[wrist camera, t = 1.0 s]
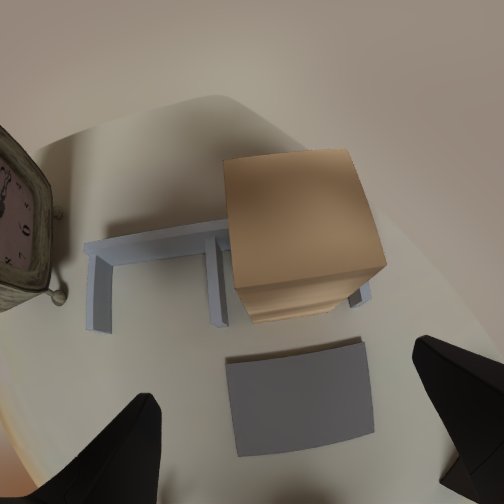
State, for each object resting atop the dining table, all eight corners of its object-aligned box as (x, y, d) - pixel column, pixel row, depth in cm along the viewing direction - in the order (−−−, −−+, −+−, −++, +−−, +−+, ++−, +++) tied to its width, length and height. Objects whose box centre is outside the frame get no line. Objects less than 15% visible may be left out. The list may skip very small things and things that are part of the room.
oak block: (327, 312, 21) (387, 264, 10) (253, 323, 21) (234, 288, 10) (314, 243, 23) (346, 148, 12) (245, 253, 23) (223, 160, 12)
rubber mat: (372, 430, 17) (374, 432, 16) (238, 454, 17) (238, 456, 17) (362, 342, 20) (364, 341, 19) (226, 363, 20) (225, 364, 19)
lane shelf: (359, 306, 21) (377, 295, 17) (104, 333, 21) (78, 328, 17) (340, 226, 24) (352, 203, 20) (106, 259, 24) (84, 243, 20)
